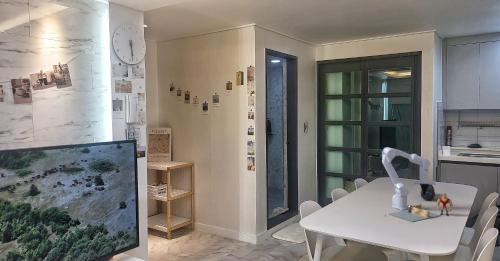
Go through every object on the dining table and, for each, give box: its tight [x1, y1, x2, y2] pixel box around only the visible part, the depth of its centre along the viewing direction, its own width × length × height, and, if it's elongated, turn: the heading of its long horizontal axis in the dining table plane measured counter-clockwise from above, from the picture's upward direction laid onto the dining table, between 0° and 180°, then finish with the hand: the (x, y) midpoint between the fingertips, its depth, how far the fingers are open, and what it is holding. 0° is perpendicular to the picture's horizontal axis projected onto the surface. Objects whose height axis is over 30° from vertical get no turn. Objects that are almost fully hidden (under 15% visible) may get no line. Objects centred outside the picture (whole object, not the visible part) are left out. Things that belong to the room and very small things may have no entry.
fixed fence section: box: [412, 203, 422, 209], centre depth 244 cm, size 1×9×4 cm, turn 115°
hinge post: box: [407, 204, 413, 213], centre depth 241 cm, size 2×2×4 cm
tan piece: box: [412, 207, 430, 217], centre depth 234 cm, size 13×1×4 cm, turn 27°
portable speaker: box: [419, 185, 436, 201], centre depth 280 cm, size 25×10×10 cm, turn 155°
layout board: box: [388, 209, 442, 223], centre depth 236 cm, size 19×26×1 cm
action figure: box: [436, 192, 453, 217], centre depth 235 cm, size 9×4×15 cm, turn 53°
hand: (424, 194), depth 252 cm, fingers closed
